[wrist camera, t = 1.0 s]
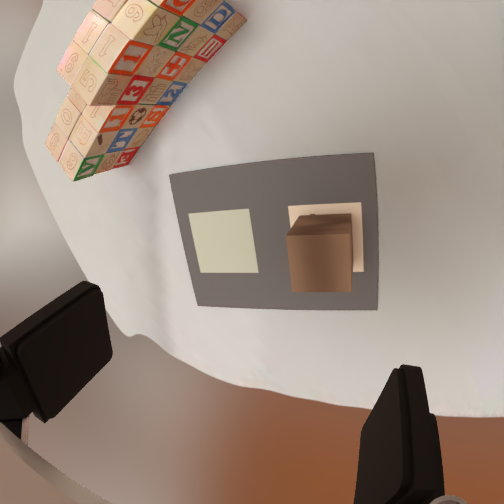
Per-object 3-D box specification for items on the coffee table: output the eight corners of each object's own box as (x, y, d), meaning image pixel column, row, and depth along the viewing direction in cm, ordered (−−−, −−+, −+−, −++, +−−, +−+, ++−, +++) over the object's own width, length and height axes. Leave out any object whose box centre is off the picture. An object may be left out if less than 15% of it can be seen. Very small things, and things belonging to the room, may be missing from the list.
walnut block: (351, 213, 29) (349, 233, 24) (353, 262, 30) (351, 292, 25) (299, 215, 31) (285, 235, 25) (304, 263, 32) (292, 292, 27)
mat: (373, 152, 26) (373, 153, 26) (377, 309, 32) (377, 310, 32) (170, 174, 33) (168, 175, 33) (198, 304, 39) (197, 305, 39)
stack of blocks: (129, 166, 35) (48, 190, 24) (100, 134, 35) (20, 148, 24) (249, 19, 25) (187, -28, 14) (207, -9, 24) (138, -54, 14)
